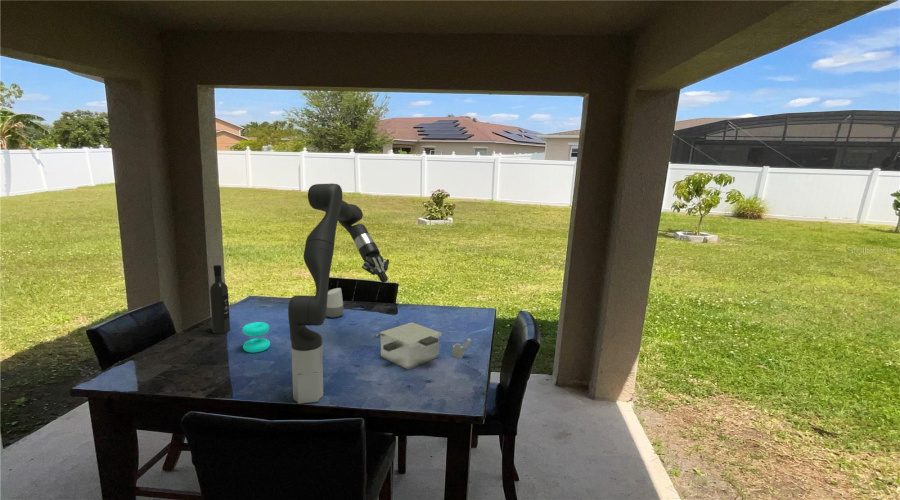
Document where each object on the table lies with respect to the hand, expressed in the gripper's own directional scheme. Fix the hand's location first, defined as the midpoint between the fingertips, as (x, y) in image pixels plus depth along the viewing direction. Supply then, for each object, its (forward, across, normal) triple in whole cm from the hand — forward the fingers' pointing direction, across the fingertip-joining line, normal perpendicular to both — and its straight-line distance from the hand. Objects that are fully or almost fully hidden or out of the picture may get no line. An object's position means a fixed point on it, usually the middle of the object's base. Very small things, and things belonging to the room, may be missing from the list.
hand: (385, 281), depth 173 cm
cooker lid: (+24, +3, +4) cm, 25 cm away
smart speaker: (-16, +8, +57) cm, 60 cm away
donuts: (-5, -37, +46) cm, 59 cm away
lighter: (+39, +18, +2) cm, 43 cm away
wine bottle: (-26, -40, +67) cm, 82 cm away
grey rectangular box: (+29, +3, +12) cm, 31 cm away
